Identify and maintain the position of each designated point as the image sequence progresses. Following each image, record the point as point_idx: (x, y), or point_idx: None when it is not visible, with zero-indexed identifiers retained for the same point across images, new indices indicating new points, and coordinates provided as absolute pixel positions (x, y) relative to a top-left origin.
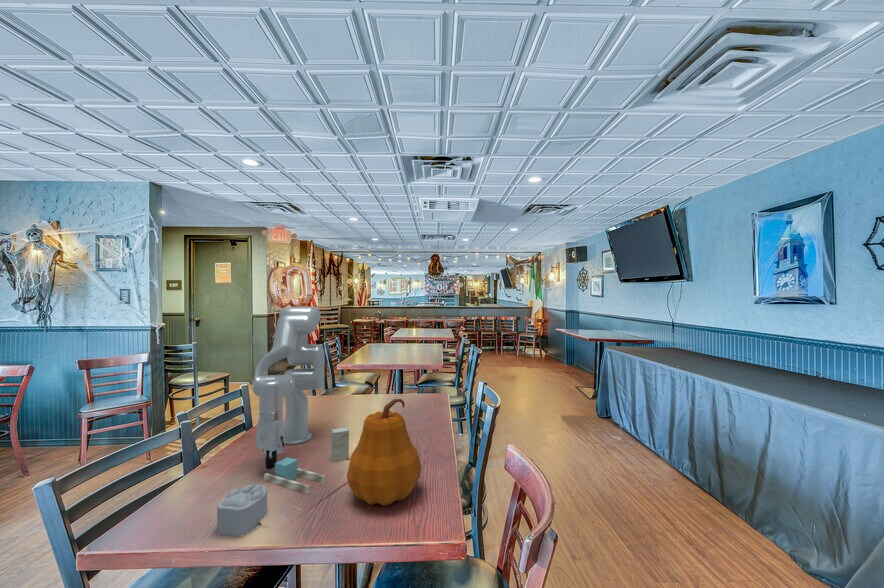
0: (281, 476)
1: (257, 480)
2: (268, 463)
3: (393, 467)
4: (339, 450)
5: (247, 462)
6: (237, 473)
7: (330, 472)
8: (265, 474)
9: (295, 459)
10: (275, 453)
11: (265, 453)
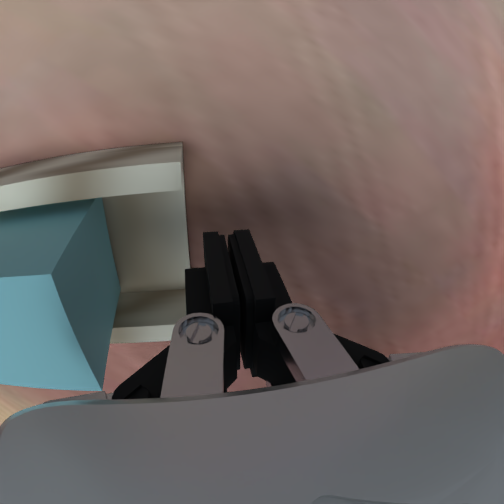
0: (18, 220)
1: (280, 155)
2: (210, 263)
3: None
4: None
5: (468, 266)
6: (455, 172)
7: None
8: (163, 166)
9: (8, 383)
10: (119, 389)
11: (305, 338)
